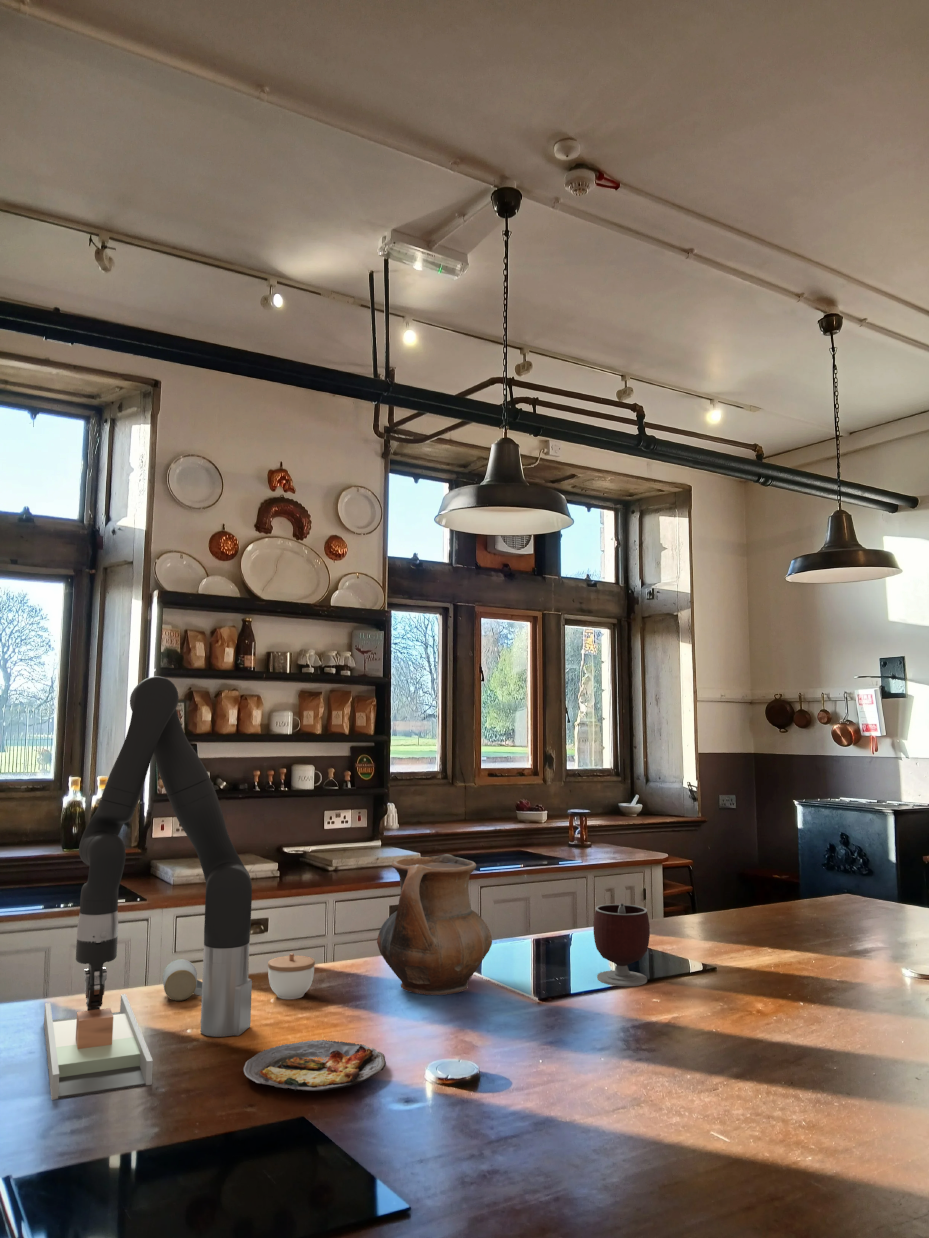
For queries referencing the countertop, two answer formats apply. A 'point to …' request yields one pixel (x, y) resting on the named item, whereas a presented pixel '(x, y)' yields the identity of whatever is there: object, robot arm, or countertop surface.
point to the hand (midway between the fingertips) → (92, 1026)
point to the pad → (98, 1057)
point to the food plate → (315, 1065)
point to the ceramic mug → (181, 980)
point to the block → (94, 1028)
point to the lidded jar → (291, 975)
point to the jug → (434, 927)
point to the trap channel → (96, 1082)
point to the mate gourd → (621, 941)
